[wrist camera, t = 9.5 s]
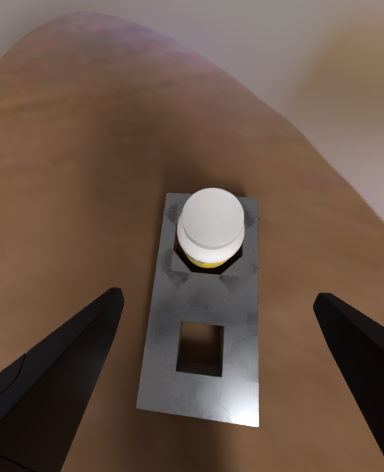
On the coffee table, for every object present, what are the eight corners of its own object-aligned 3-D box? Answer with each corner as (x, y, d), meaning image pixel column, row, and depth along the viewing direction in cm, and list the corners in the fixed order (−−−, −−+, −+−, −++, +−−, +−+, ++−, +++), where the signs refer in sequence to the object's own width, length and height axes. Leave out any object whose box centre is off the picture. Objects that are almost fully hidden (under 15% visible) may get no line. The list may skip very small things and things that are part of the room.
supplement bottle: (178, 262, 20) (158, 244, 11) (191, 219, 22) (183, 169, 12) (225, 275, 20) (247, 267, 10) (235, 230, 21) (262, 185, 11)
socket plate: (251, 406, 16) (260, 427, 14) (143, 390, 17) (133, 408, 15) (252, 206, 22) (259, 196, 19) (169, 201, 22) (165, 191, 20)
